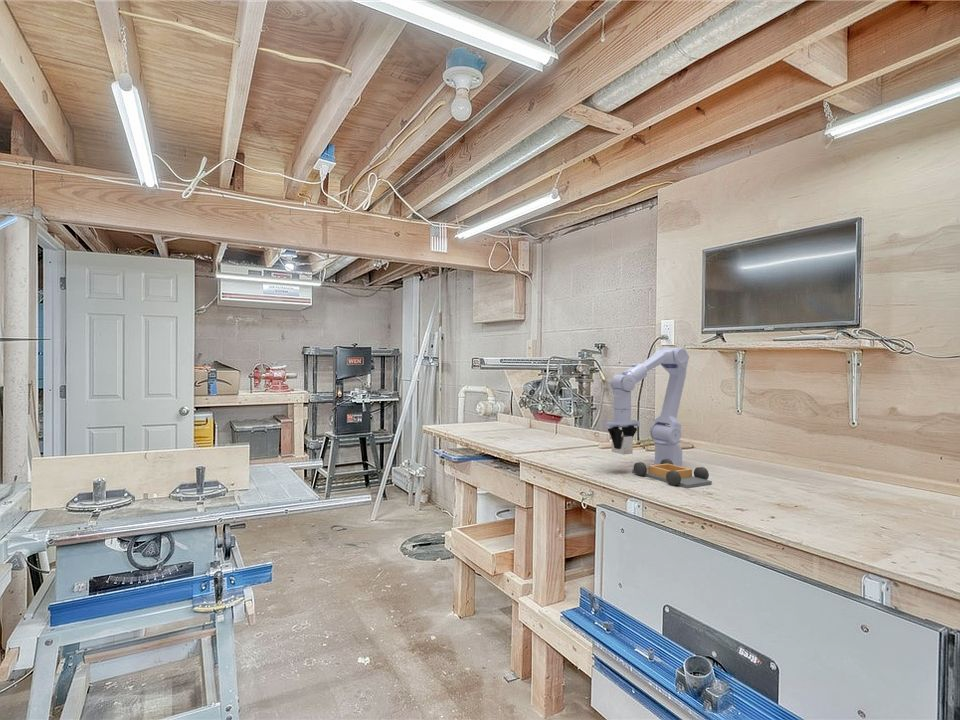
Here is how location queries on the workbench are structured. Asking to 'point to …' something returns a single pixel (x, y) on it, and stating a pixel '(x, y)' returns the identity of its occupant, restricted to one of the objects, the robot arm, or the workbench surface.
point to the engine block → (624, 445)
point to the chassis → (673, 474)
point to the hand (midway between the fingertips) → (622, 448)
